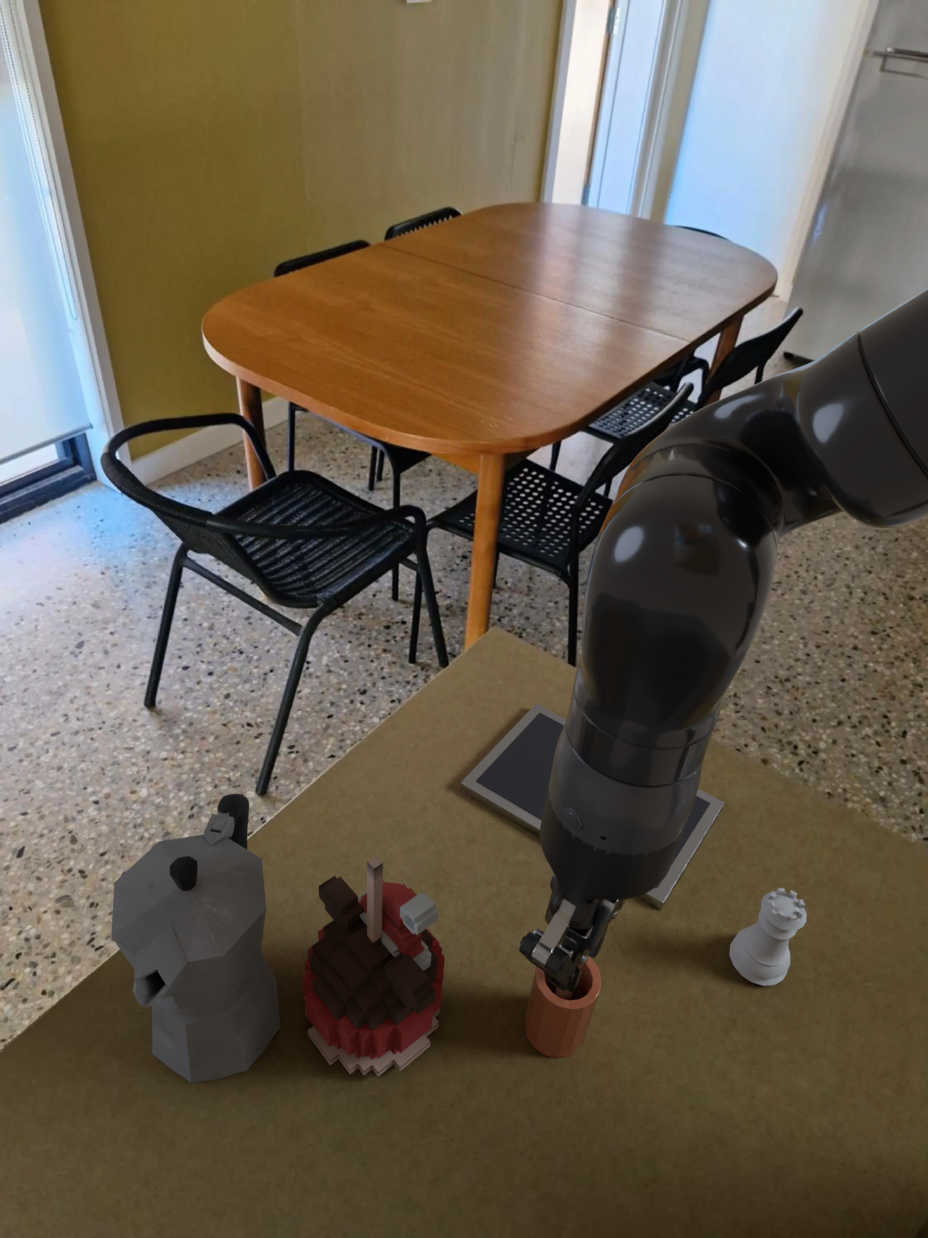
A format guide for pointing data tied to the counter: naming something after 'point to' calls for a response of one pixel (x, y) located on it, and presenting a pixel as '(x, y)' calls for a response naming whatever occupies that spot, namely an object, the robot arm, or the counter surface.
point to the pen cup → (561, 1013)
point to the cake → (374, 975)
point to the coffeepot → (201, 947)
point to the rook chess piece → (769, 939)
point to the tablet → (522, 779)
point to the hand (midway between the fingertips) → (572, 962)
